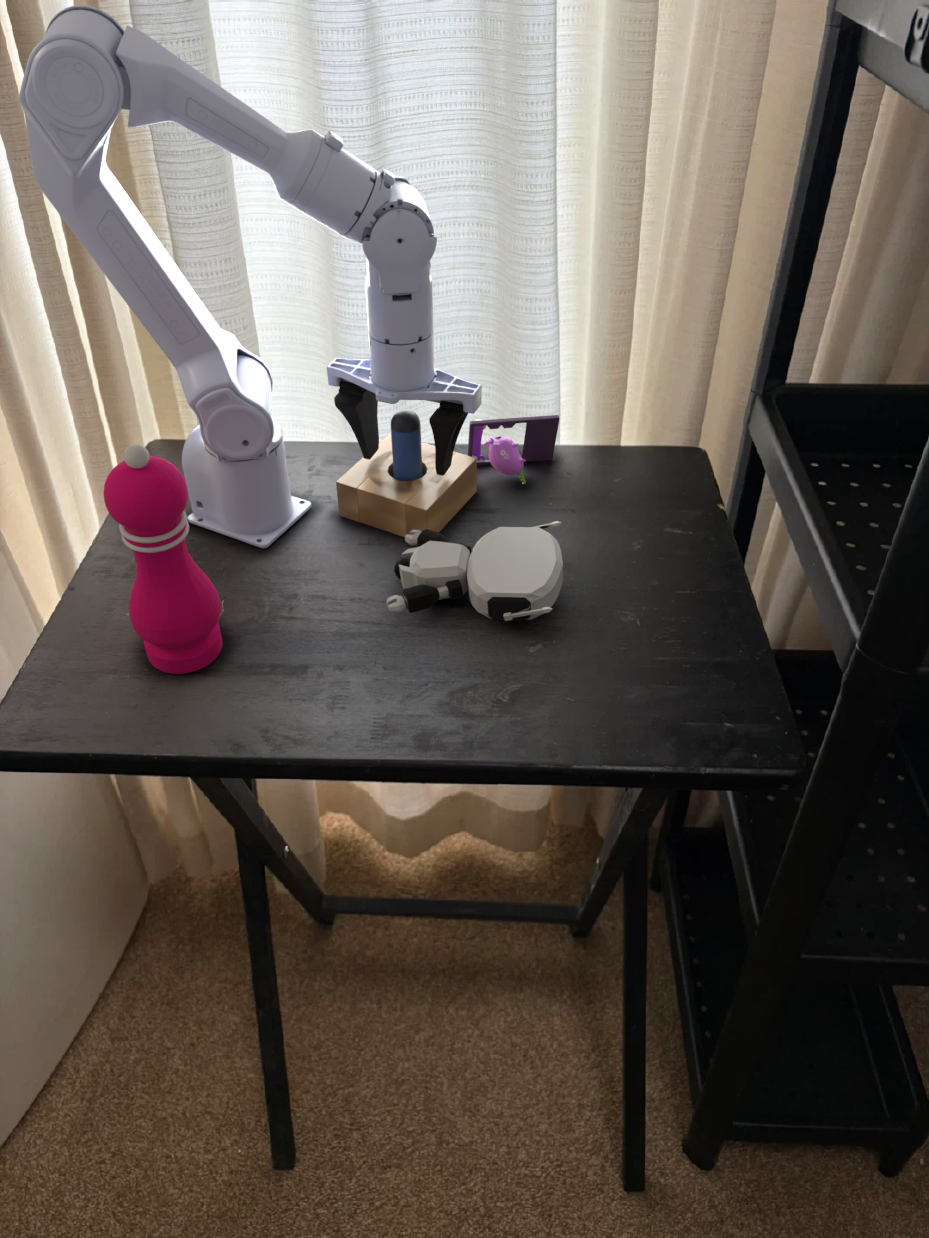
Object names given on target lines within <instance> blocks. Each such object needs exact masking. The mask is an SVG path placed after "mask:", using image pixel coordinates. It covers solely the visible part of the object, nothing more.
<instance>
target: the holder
mask: <svg viewBox="0 0 929 1238" xmlns="http://www.w3.org/2000/svg"><path fill="white" fill-rule="evenodd" d="M421 450H422V478H419V479H417V480H413V481H399V480H396V479H394V472H393V455H392V439H391V432H389V433H388V434H387V435H386V436H385V437H384V438H383V439H382V440H380V441H379V449H378V450H377V452H376V453H375V454H374V455H373V456H372V458H371V459H370V460H369V459H364V457H363V456H362V458H361V459H359V460H358V461H357V462H356V463H355V464H354V465H353V466H352V467H351V468H350V469H349V470H347V471H346V472H345V473H344V474H343V475H342V476H341V477H339V479H337V480H336V482H335V485H336V486H335V487H336V494H337V505H338V514H339V517H342V518H346V519H348V520H351V521H354V522H358V523H361V524H364V525H367V526H370V527H373V528H376V529H378V530H382V531H384V532H388V533H391V534H394V535H397V536H400V537H403V538H405V536H406V535H407V534H409V532H410V531H412V530H413V529H414V530H420V531H421V532H422V531H423V530H426V529H428V530H431V531H435V532H438V533H441V531H442V530H443V529H444V528H445V527H446V526H447V525H448V523H449V522H450V521H451V520H452V519H453V518H454V517H455V516H456V514H457V513H458V512H459V511H460V510H461V509H463V507H464V506H465V505H466V504H467V502H469V501H470V500H471V499H472V497H473V496H474V495H475V494H476V493H477V491H478V489H477V488H478V487H477V486H478V484H477V483H478V481H477V480H478V476H477V474H478V473H477V472H478V470H477V469H478V465H477V461H478V459H477V457H476V456H472V457H471V456H468V454H465V453H464V454H463V453H461V452H457V451H454V452H453V456H452V462H451V466H450V468H449V469H448V470H447V472H446V473H445V475H443V476H442V475H437V473H436V468H435V444H434V445H433V444H430V443H426V442H423V441H421Z"/></svg>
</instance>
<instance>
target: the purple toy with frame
mask: <svg viewBox="0 0 929 1238" xmlns="http://www.w3.org/2000/svg"><path fill="white" fill-rule="evenodd" d="M516 424H525V430H524V431H525V432H524V437H523V438H524V440H523V446H522V452H521V453H522V454H520V452H519V449H518V448H517V446H518V445H519V443H516V442H515V441H513V440H512V439H511V438H509V437H505V436H502V435H501V436H497V437H494V438H492V437H490V438H489V439H488V440H487V441H485V442H484V443H483V447H486V446H488V450H487V451H488V453H487V455H488V459H485V456H484V455H483V454H482V437H483V434H484V433H483V432H484V430H485V429H486V428H487V427H488V429H489V430H498V429H499V428H500V427H502V428H503V429H512V428H513V427H514V426H515V425H516ZM559 425H560V415H559V414H552V415H550V414H549V415H539V416H538V415H537V416H524V417H509V418H496V419H495V418H493V419H480V418H477V419H474V420H471V421H469V426H468V439H467V441H468V442H467V455H468V456H471V457H475V458H477V466H482V465H491V466H492V467H493V468H494V469H495V470H496V471H498V473H500V474H503V475H506V476H515V475H517V476H518V477H517V478H518V479H519V480H518V481H520V482H521V485H526V484H527V481H526V477H525V475H524V473H523V472H522V471H523V470H524V463H526V462H536V461H537V462H539V461H551V460H553V458H554V452H555V447H556V441H557V436H558V430H559Z"/></svg>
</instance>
